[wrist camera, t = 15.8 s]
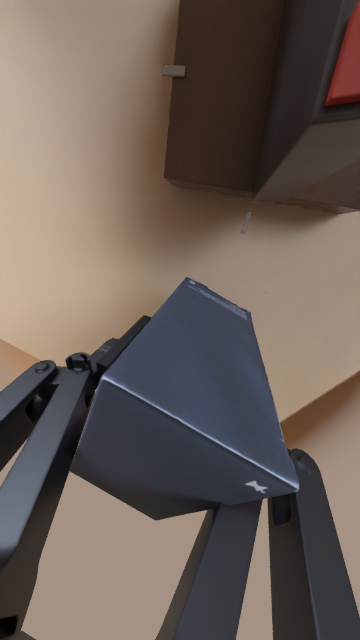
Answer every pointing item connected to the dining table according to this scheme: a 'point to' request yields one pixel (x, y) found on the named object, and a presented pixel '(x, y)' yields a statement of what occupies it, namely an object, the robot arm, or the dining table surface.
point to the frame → (311, 99)
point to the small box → (187, 414)
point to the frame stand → (233, 104)
